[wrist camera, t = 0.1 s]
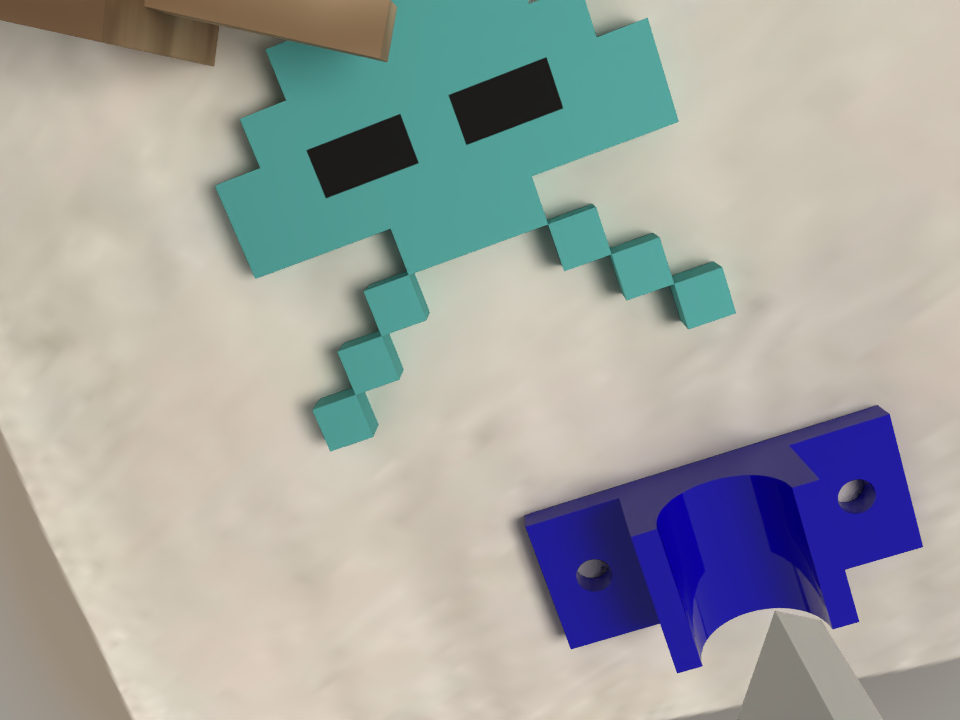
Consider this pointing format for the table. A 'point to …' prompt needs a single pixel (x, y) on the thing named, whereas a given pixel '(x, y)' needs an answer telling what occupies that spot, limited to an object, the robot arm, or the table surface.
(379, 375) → the alien figure
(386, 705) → the table surface
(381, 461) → the table surface
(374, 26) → the mallet
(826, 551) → the mounting bracket
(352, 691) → the table surface
